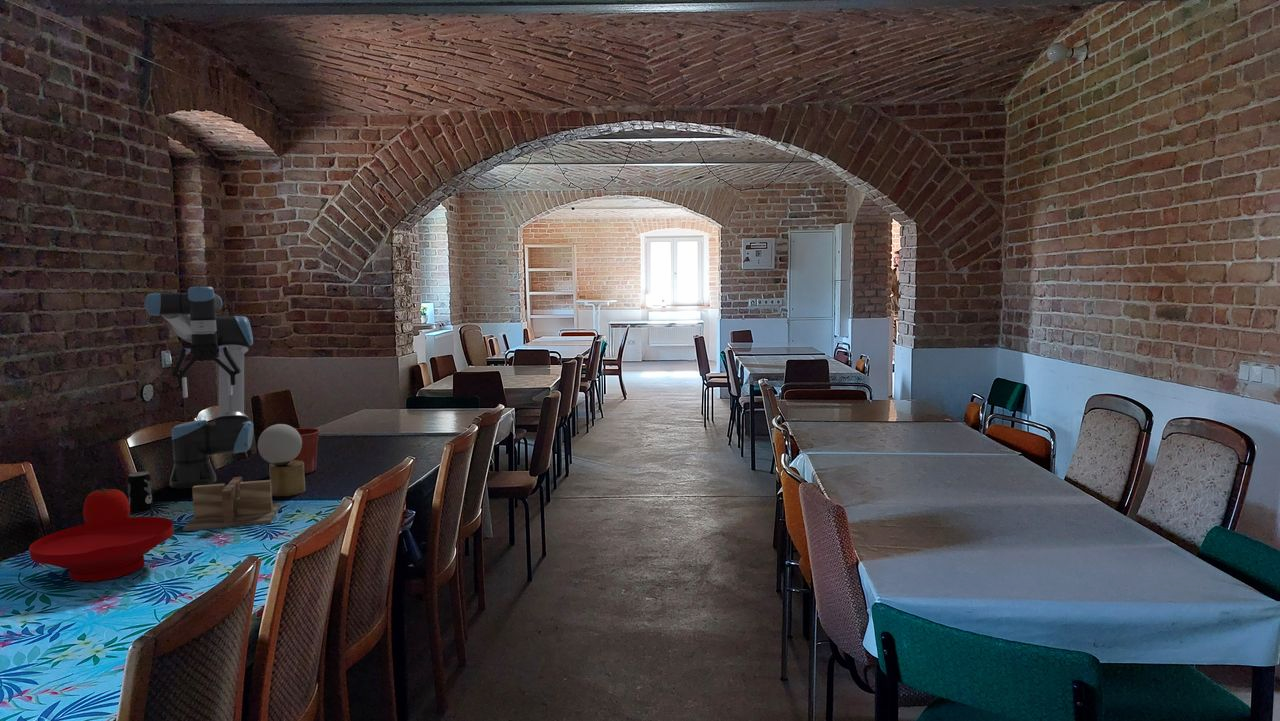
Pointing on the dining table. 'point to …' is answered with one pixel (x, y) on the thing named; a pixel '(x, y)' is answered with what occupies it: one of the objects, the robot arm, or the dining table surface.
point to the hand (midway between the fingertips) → (208, 396)
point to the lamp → (283, 459)
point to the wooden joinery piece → (250, 505)
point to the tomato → (105, 506)
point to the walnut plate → (231, 499)
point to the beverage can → (140, 491)
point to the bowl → (102, 547)
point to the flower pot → (308, 448)
